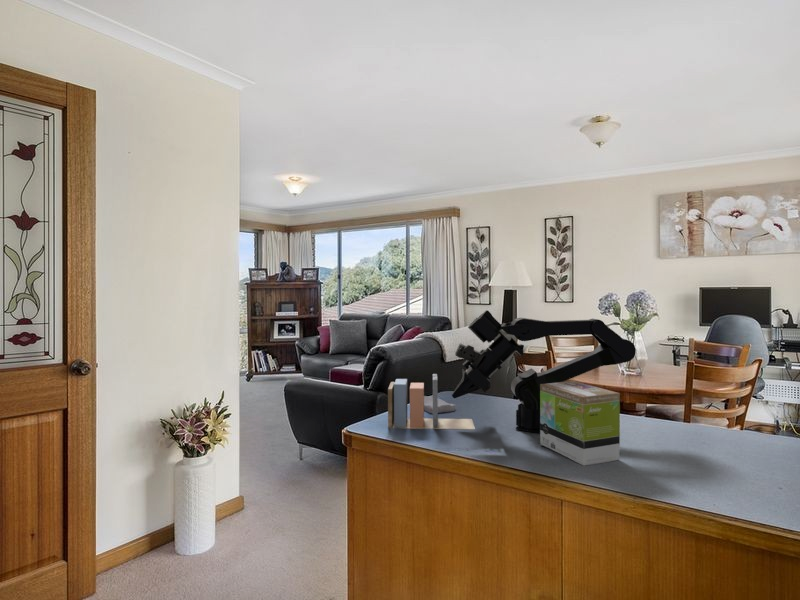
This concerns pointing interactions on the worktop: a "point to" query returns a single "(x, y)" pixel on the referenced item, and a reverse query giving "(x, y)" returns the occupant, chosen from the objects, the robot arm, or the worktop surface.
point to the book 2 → (417, 405)
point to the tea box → (580, 421)
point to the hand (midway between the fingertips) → (452, 396)
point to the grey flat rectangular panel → (435, 401)
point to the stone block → (441, 405)
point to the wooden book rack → (427, 422)
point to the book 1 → (400, 403)
